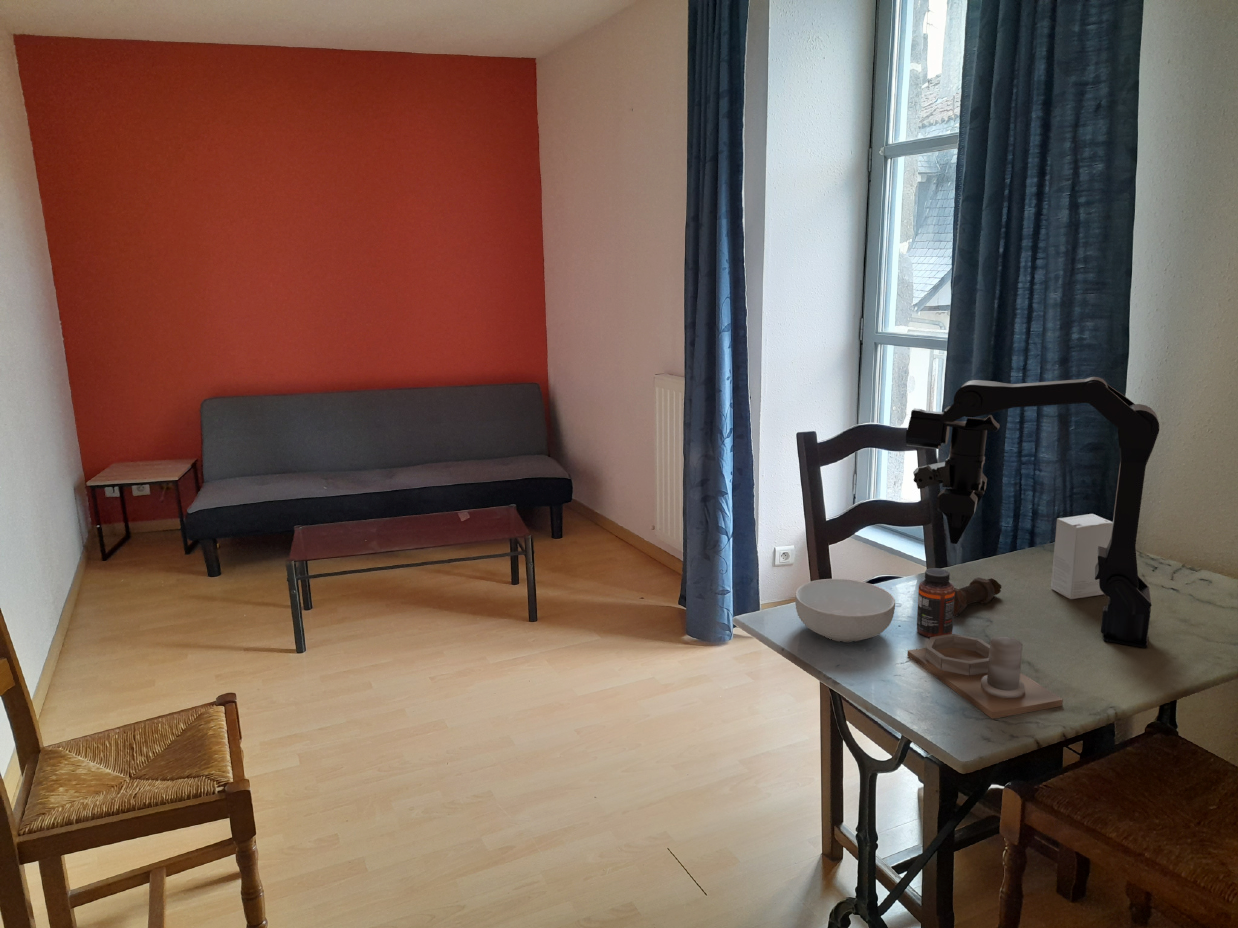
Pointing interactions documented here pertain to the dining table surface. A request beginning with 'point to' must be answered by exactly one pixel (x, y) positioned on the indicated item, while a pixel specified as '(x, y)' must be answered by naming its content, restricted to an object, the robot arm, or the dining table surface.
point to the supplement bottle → (935, 604)
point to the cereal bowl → (844, 608)
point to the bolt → (975, 593)
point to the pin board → (985, 673)
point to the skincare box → (1078, 554)
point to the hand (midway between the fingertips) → (957, 535)
